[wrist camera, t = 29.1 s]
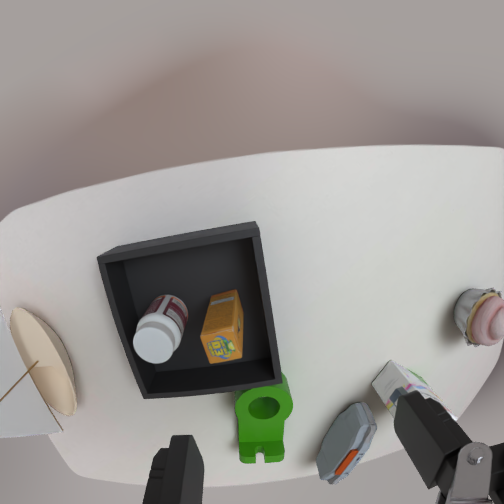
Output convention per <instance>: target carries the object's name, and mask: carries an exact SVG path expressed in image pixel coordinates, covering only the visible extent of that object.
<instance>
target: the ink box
mask: <svg viewBox="0 0 504 504" xmlns="http://www.w3.org/2000/svg"><path fill="white" fill-rule="evenodd" d="M372 386H373V387H374V389H375V390H376V392H377V393H378V395H379V396H380V398H381V399H382V401H383V402H384V404H385V405H386V407H387V408H388V410H389V412H390V413H391V415H392V416H393V418H395V413H396V407H397V401H398V397H399V396H400V395H403V394H406V393H409V392H412V391H414V390H418V391H419V392H420V393H421V395H422V396H423V397H424V398H425V399H427V398H432V399H434V400H436V401H438V402H440V403H441V404H442V406H443V407H444V408H445V409H446V410H447V412H448V413H449V414H450V415H451V416H452V419H454V420H455V421H456V420H457V419H458V418H457V417H456V415H455V414H454V413H453V412H452V411H451V410H450V409H449V408H448V407H447V406H446V405H445V403H444V402H443V401H442V400H441V399H440V398H439V397H438V396H437V395H436V393H435V392H434V391H433V390H432V389H431V388H430V387H429V385H428V384H427V383H426V382H425V381H424V380H423V379H422V377H420V376H418V375H417V374H415V373H413V372H411V371H410V370H408V369H406V368H405V367H403V366H401V365H399V364H398V363H396V362H394V361H392V360H390V361H389V362H388V364H387V365H386V366H385V367H384V369H383V370H382V371H381V373H380V374H379V375H378V376H377V378H376V379H375V380H374V381H373V383H372Z"/></svg>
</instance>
